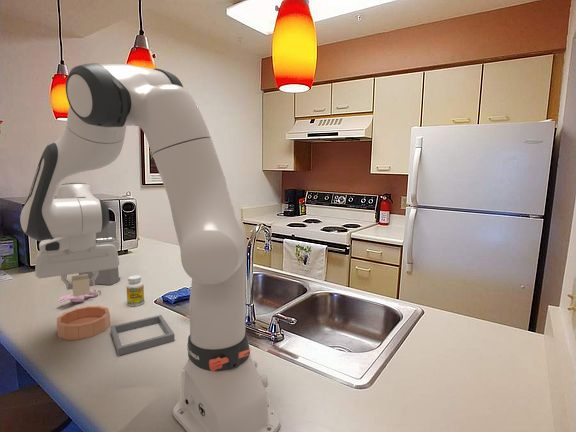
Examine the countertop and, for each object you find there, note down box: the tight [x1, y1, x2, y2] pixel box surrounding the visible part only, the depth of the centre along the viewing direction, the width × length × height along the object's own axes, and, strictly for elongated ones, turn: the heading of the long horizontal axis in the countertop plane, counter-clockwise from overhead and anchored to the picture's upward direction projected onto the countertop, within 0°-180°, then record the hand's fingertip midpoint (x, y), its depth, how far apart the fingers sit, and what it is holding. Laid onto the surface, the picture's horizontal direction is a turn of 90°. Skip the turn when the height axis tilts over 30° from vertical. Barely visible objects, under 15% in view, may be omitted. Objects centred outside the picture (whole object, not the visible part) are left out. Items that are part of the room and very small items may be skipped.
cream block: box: [71, 274, 91, 297], centre depth 95 cm, size 5×4×4 cm
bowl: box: [56, 305, 111, 341], centre depth 97 cm, size 13×13×4 cm
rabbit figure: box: [56, 288, 102, 304], centre depth 116 cm, size 6×6×15 cm
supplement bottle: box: [126, 274, 145, 307], centre depth 115 cm, size 5×5×10 cm
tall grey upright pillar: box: [78, 220, 121, 286], centre depth 133 cm, size 14×6×25 cm, turn 84°
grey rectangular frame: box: [109, 314, 175, 357], centre depth 93 cm, size 14×14×2 cm
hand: (80, 287), depth 95 cm, fingers closed on cream block, 4 cm apart
